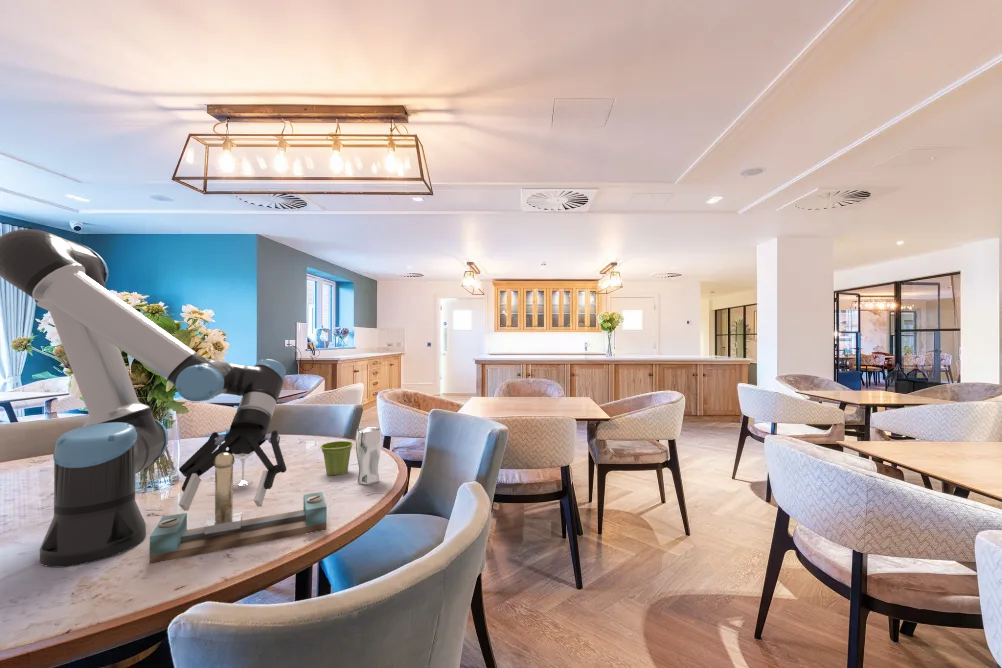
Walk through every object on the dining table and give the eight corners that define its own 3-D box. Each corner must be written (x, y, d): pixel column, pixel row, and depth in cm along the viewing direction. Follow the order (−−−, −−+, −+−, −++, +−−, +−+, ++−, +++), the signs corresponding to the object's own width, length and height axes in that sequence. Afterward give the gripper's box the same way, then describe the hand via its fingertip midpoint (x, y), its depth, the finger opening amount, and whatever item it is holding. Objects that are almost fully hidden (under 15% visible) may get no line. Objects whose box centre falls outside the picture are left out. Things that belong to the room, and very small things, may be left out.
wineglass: (226, 482, 122) (227, 440, 122) (253, 477, 127) (253, 436, 127) (231, 488, 117) (232, 444, 117) (259, 482, 122) (259, 440, 122)
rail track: (149, 564, 78) (149, 533, 78) (162, 541, 86) (162, 513, 86) (326, 529, 92) (326, 503, 92) (322, 513, 100) (322, 489, 100)
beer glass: (365, 487, 118) (365, 433, 118) (350, 482, 122) (351, 429, 122) (386, 480, 124) (386, 428, 124) (371, 476, 128) (371, 426, 128)
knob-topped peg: (204, 535, 83) (205, 456, 83) (208, 524, 88) (208, 450, 88) (240, 528, 86) (240, 452, 86) (242, 518, 91) (242, 446, 91)
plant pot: (338, 479, 125) (338, 449, 125) (313, 475, 128) (313, 446, 128) (359, 470, 134) (359, 442, 134) (335, 467, 137) (335, 439, 137)
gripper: (313, 423, 104) (291, 509, 89) (201, 427, 100) (160, 517, 85) (306, 405, 99) (282, 493, 84) (188, 408, 95) (142, 500, 80)
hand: (220, 505), depth 85 cm, fingers open, 13 cm apart
